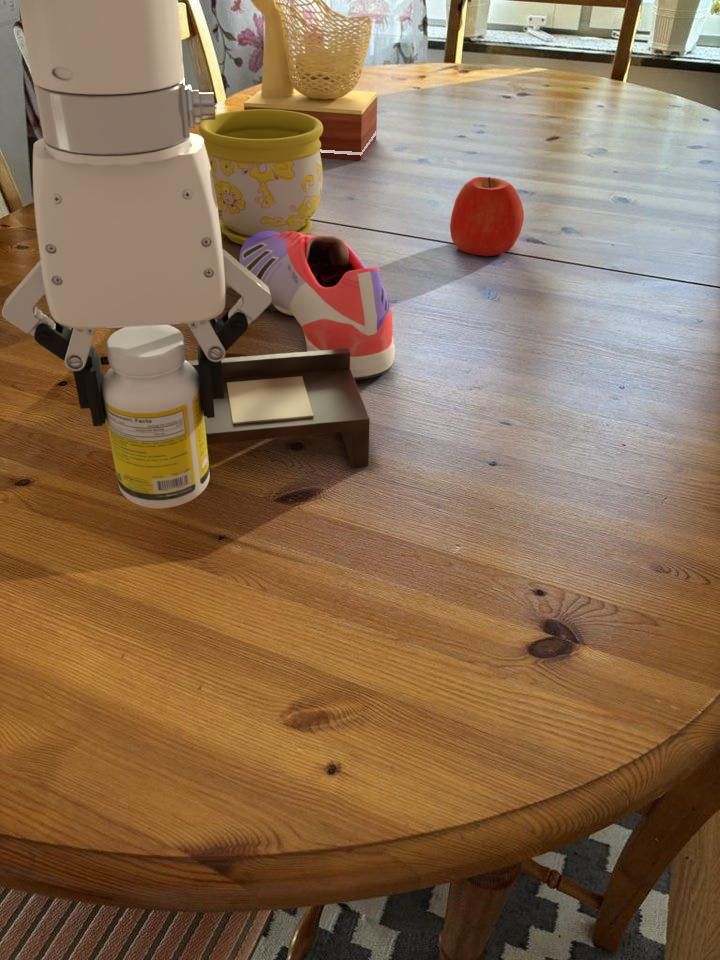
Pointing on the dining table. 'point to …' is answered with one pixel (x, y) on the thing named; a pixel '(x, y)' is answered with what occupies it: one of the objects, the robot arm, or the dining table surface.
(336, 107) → the beige netted upright structure
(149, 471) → the pill bottle
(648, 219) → the dining table surface
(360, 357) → the coral sneaker
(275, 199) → the flowerpot
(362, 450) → the shelf
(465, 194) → the apple
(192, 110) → the robot arm
